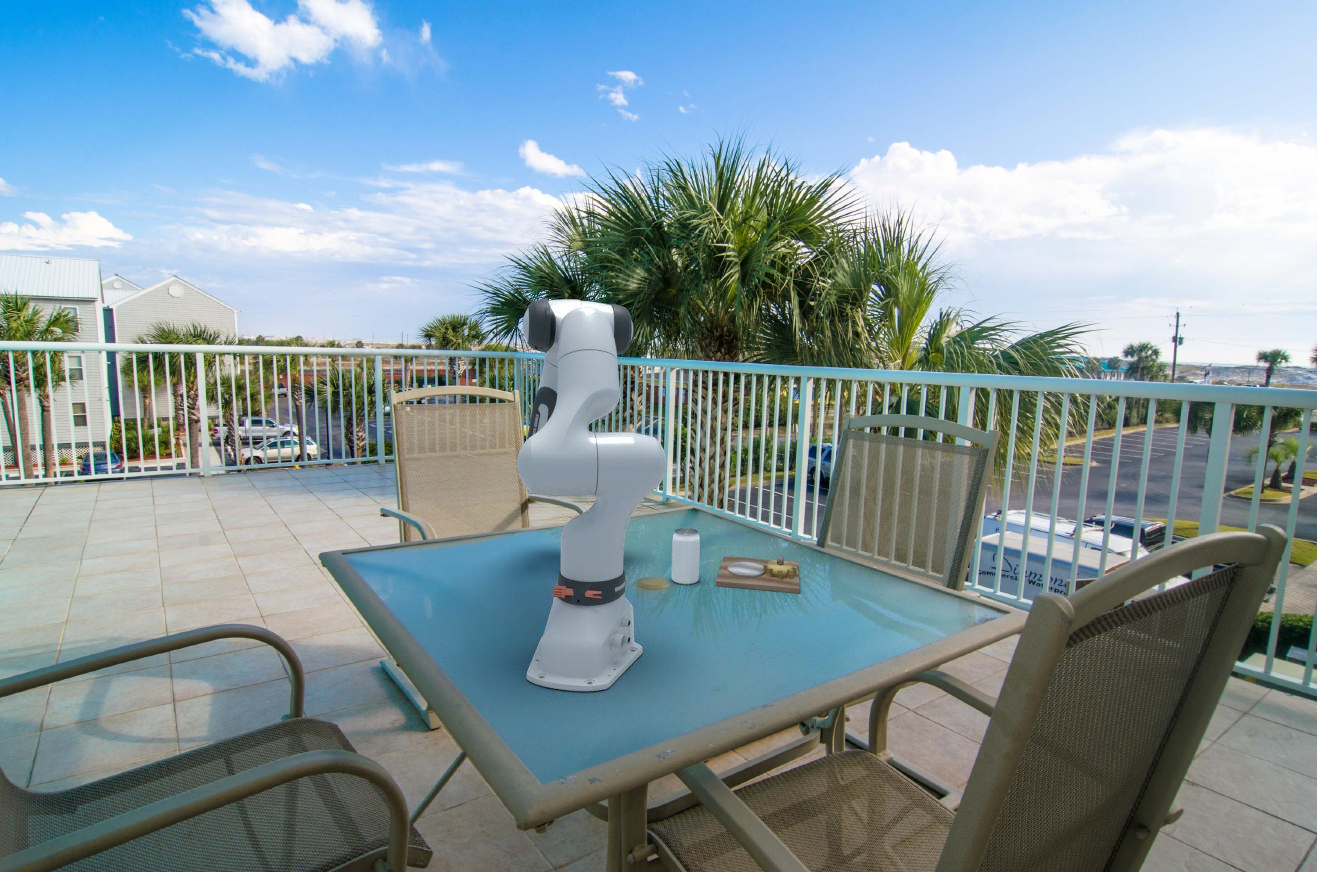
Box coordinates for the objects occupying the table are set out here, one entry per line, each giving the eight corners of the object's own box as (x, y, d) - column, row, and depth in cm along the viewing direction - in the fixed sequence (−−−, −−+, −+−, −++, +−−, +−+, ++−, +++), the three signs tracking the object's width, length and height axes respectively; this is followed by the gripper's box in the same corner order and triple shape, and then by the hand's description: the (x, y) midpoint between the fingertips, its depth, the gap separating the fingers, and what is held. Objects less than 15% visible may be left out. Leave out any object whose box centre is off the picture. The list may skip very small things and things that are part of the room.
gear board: (799, 593, 146) (800, 569, 145) (715, 585, 149) (716, 562, 149) (797, 566, 165) (798, 545, 165) (723, 560, 169) (724, 539, 168)
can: (699, 576, 156) (700, 528, 154) (698, 585, 149) (699, 535, 148) (672, 575, 156) (673, 526, 155) (670, 584, 150) (671, 533, 148)
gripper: (571, 470, 152) (621, 479, 146) (616, 456, 170) (662, 464, 164) (570, 496, 153) (620, 506, 147) (615, 480, 171) (661, 488, 165)
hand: (643, 484), depth 155 cm, fingers open, 8 cm apart
